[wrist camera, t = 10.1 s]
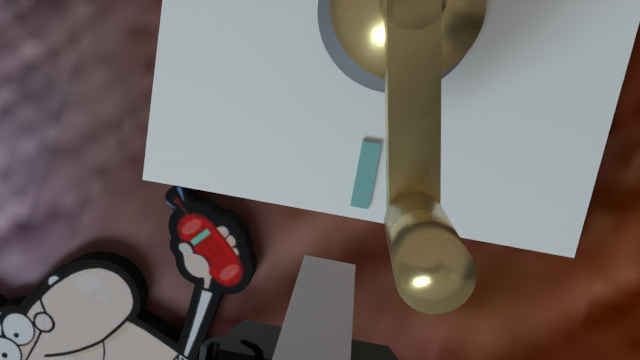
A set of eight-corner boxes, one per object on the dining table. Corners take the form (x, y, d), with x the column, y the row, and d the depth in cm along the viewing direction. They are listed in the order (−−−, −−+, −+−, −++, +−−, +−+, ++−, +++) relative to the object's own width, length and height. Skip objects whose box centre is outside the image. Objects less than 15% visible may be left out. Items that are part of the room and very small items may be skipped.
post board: (682, -173, 29) (748, -219, 24) (566, 250, 34) (602, 283, 29) (199, -255, 30) (168, -317, 25) (149, 175, 34) (115, 195, 29)
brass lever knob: (329, -67, 26) (313, -149, 16) (478, -74, 26) (565, -162, 15) (337, 220, 29) (328, 315, 18) (473, 217, 28) (543, 313, 18)
